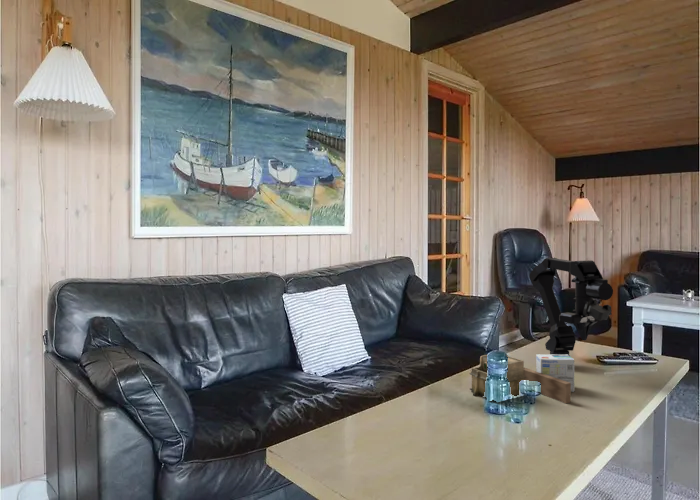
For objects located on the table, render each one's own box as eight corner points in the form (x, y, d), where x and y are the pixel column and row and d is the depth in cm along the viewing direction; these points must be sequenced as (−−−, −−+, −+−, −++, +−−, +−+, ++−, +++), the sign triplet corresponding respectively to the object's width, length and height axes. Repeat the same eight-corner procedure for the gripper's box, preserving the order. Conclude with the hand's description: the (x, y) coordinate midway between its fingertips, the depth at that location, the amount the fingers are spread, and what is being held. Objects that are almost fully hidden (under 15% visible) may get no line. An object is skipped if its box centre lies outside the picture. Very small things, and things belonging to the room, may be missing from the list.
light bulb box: (568, 385, 162) (568, 353, 162) (575, 392, 156) (575, 359, 155) (535, 384, 164) (535, 353, 163) (540, 391, 157) (540, 358, 156)
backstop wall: (512, 383, 166) (511, 365, 165) (516, 382, 167) (516, 364, 166) (566, 403, 146) (566, 383, 146) (570, 402, 147) (570, 382, 147)
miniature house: (495, 383, 166) (495, 350, 165) (528, 395, 154) (529, 360, 153) (462, 391, 159) (462, 357, 158) (494, 404, 146) (494, 367, 146)
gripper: (586, 301, 159) (586, 348, 159) (623, 296, 167) (622, 341, 168) (558, 297, 169) (558, 341, 169) (594, 293, 177) (594, 335, 178)
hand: (584, 340), depth 171 cm, fingers closed
